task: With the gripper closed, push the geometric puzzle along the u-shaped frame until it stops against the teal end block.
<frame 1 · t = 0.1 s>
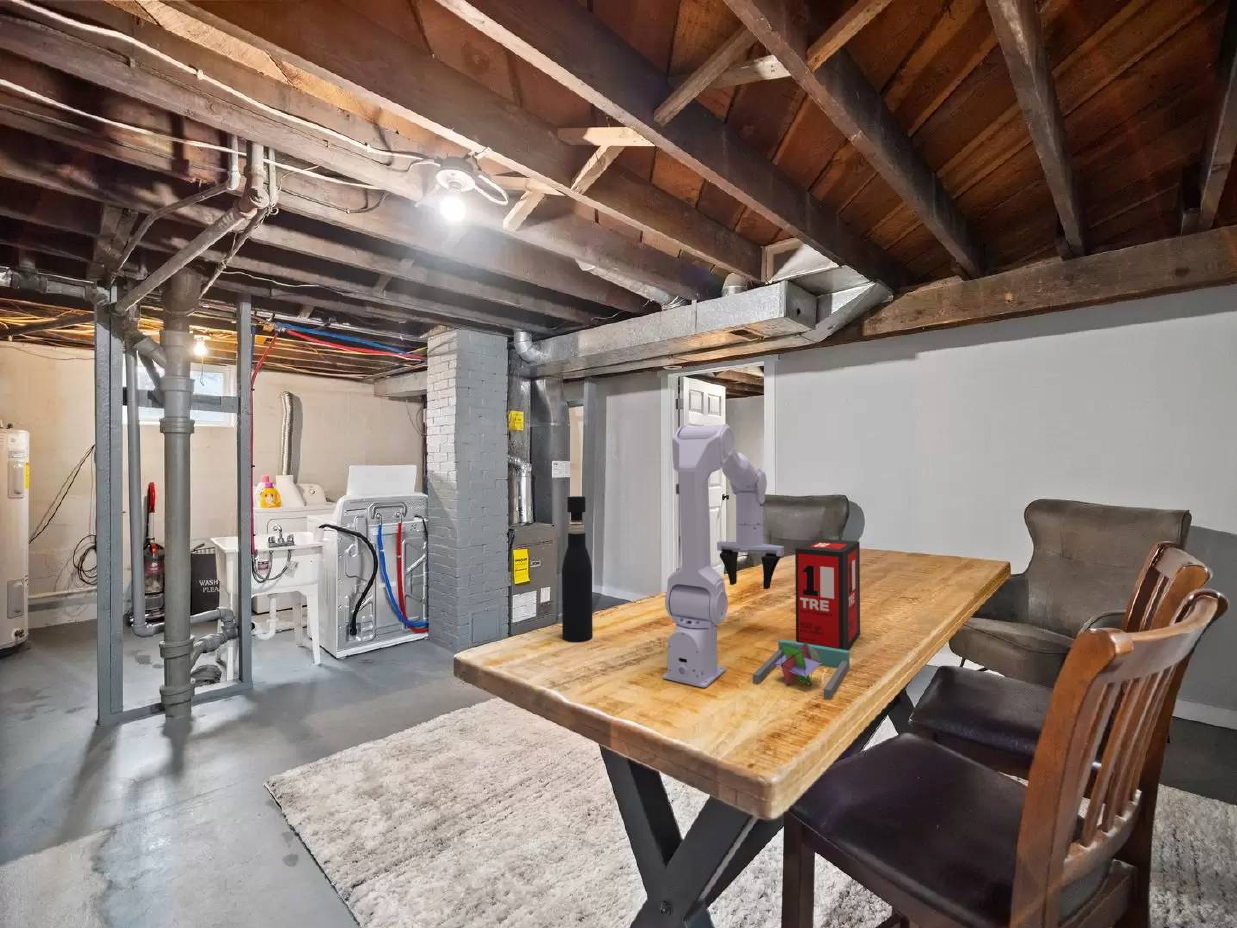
hand: (749, 586, 120), 10 cm above the table, tool pointing down, fingers open, 7 cm apart
u-shaped frame: (802, 674, 96), on the table
black water bottle: (577, 638, 117), on the table
geometric puzzle: (796, 684, 92), on the table
cleaning product box: (829, 642, 113), on the table
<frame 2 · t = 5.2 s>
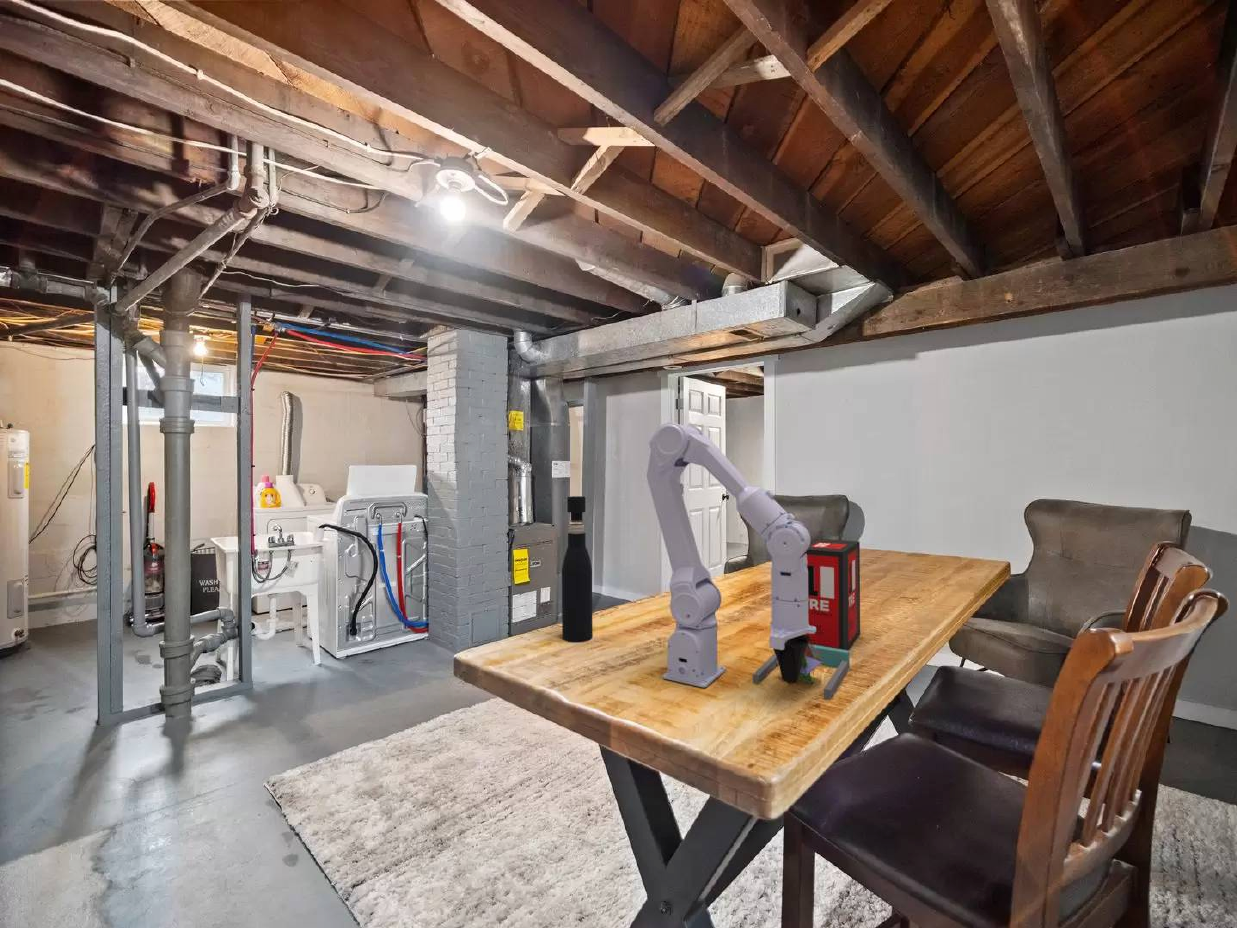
hand: (790, 681, 89), 2 cm above the table, tool pointing down, fingers closed
geometric puzzle: (798, 682, 93), on the table, touching gripper
everything else where it was.
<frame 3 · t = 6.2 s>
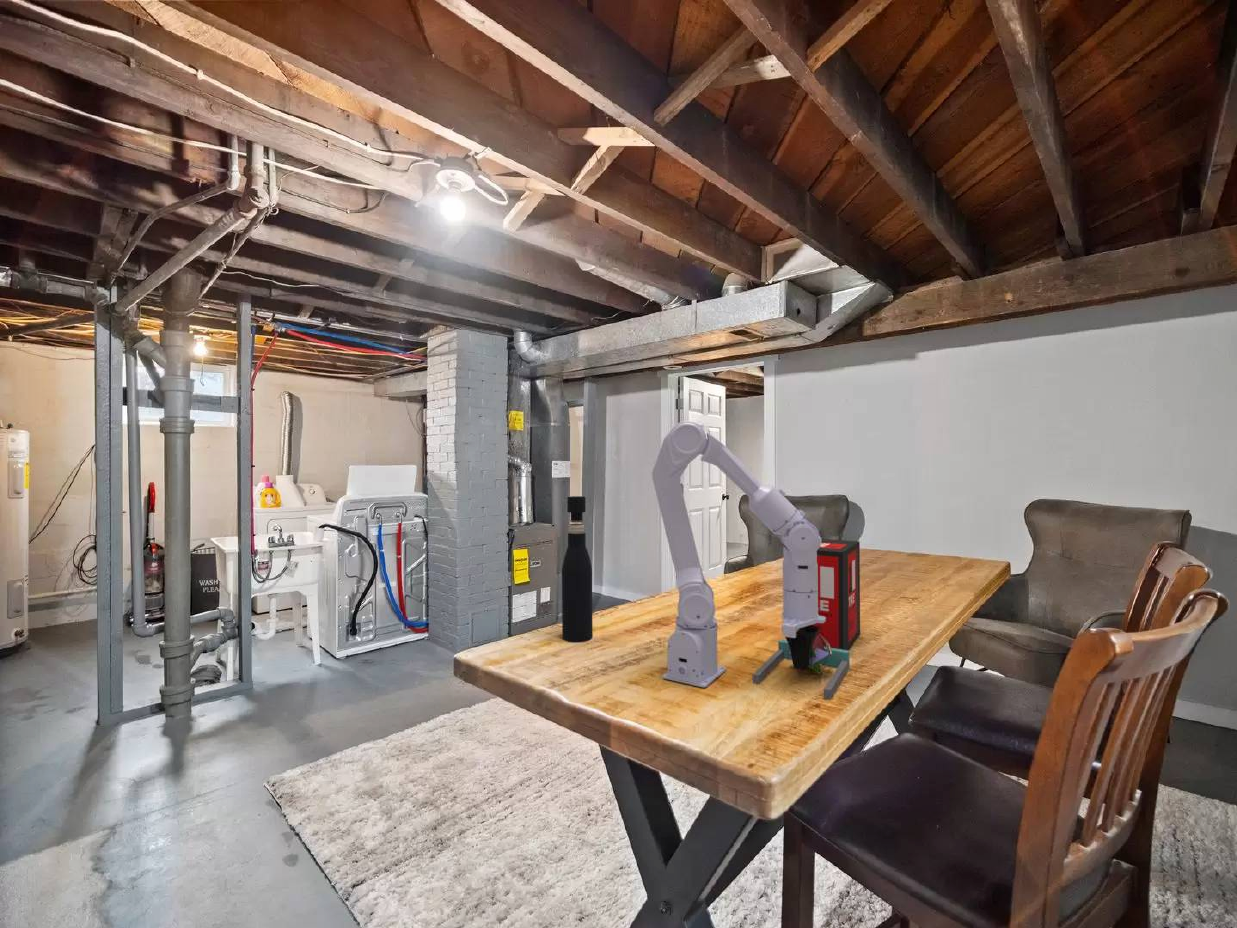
hand: (800, 668, 94), 2 cm above the table, tool pointing down, fingers closed, pressing on geometric puzzle
geometric puzzle: (808, 672, 97), on the table, touching gripper
everything else where it was.
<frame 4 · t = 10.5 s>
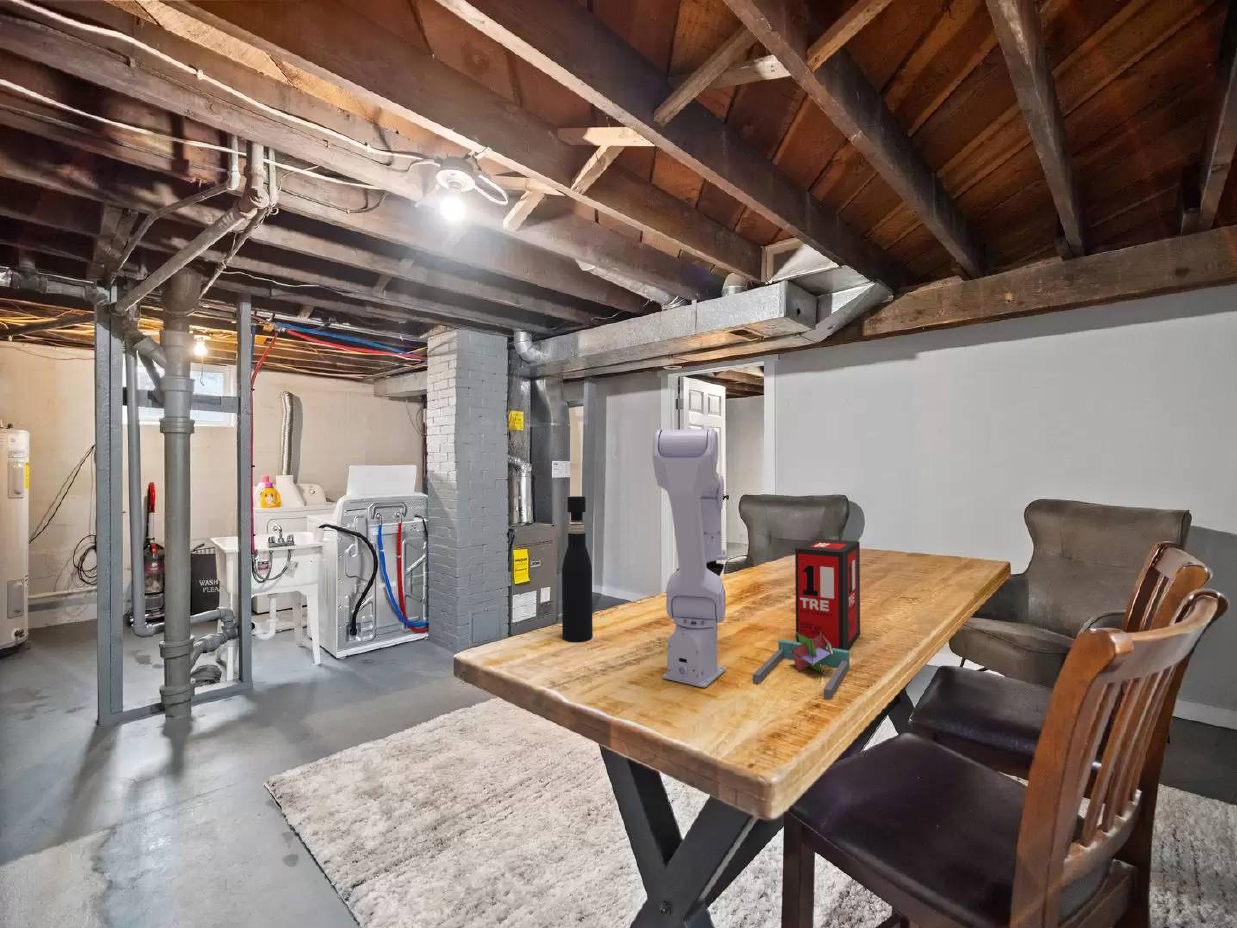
hand: (707, 600, 111), 9 cm above the table, tool pointing down, fingers closed
geometric puzzle: (809, 671, 98), on the table
everything else where it was.
at the end: geometric puzzle 0.6 cm from the target spot, on the table; geometric puzzle tilted 0° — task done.
